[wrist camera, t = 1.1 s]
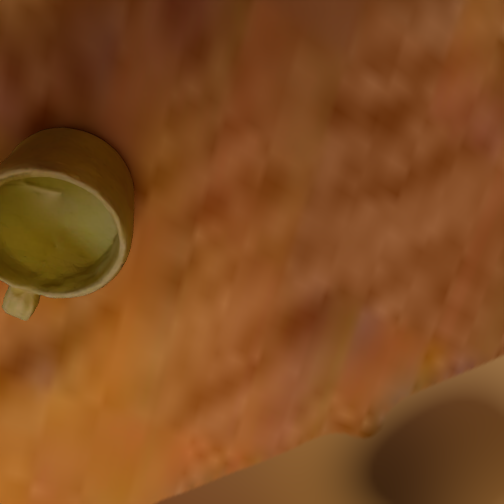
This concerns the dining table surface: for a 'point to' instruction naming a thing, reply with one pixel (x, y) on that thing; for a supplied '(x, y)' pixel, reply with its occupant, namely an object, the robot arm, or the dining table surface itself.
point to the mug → (62, 217)
